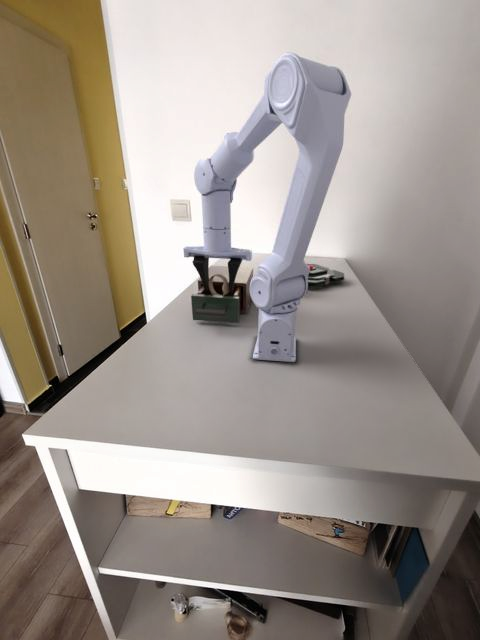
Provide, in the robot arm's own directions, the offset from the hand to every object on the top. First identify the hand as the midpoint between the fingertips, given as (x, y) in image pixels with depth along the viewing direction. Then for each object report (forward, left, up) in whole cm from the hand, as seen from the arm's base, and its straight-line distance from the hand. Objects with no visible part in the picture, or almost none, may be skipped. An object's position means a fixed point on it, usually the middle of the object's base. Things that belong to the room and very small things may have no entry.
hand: (219, 290), depth 76 cm
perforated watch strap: (0, 0, -2) cm, 2 cm away
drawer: (-1, 0, -6) cm, 6 cm away
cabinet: (+10, 0, -7) cm, 12 cm away
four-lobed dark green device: (+34, -22, -7) cm, 41 cm away
